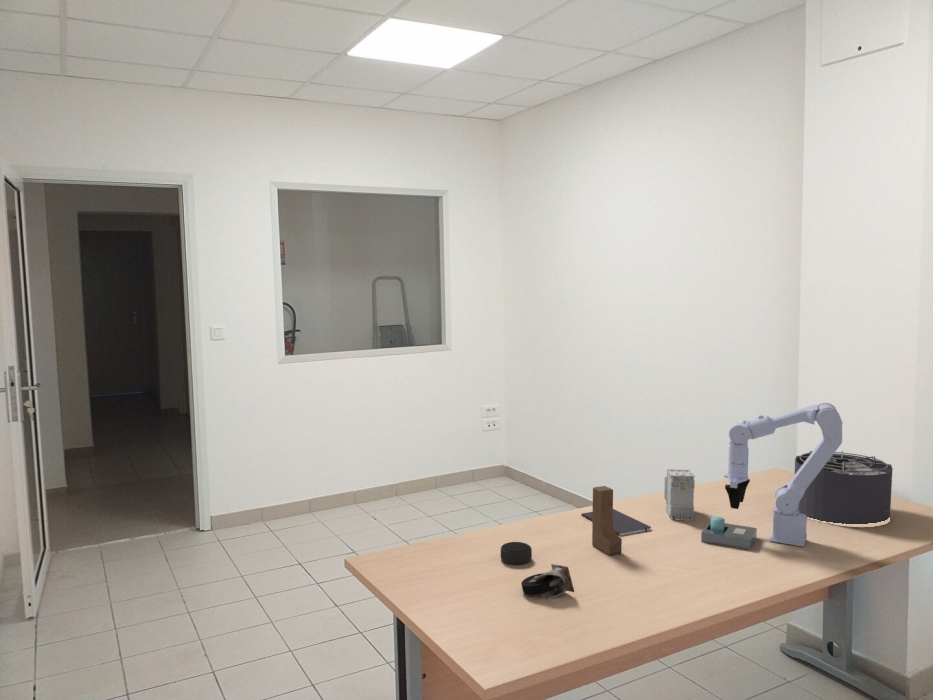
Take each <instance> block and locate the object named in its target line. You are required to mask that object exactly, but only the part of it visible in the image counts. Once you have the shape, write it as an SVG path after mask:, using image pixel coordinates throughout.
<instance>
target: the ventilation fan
mask: <svg viewBox="0 0 933 700" xmlns="http://www.w3.org/2000/svg"><path fill="white" fill-rule="evenodd" d="M812 452H813V450H810V451H809V452H805V453H803V454H801V455H796V456H795V458H794V475H795V474H796V473H797V471H798V470H799V469H800V467H801V466H802V465H803V464H804V462H805V461H806V460H807V458H808V457H809V456H810V454H811V453H812ZM892 483H893V465H892V464H891V463H886V462H885V461H884V460H881V459H878V458H876V456H874V455H873V456H867V455H862V454H857V453H850V452H843V450H842V451H841V452H839V451H835V453H834V454H833V455H832V457H831V458H830V459H829V460H828V462H827V463H826V464H825V466H824V467H823V468H822V469H821V471H820V472H819V473H818V475H817V476H816V477H815V479H814V480H813V481H812V482H811V484H810V485H809V486H808V488H807V489H806V490H805V493H804V495H803V497H802V499H801V500H800V502H799V507H798V510H799V513H802V514H806V515H807V517H809V518H813V519H817V520H820V521H826V522H833V523H842V524H844V523H845V524H868V523H877V522H881V521H885V520H887V519H888V518H889V517H890V518H891V504H892V503H891V501H892V488H893V487H892V485H893V484H892Z"/></svg>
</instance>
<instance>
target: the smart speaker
mask: <svg viewBox="0 0 933 700" xmlns="http://www.w3.org/2000/svg"><path fill="white" fill-rule="evenodd" d="M532 553H533V552H532V546H531V545H529V544H528V543H525V542H523V541H509V542H506V543H503V544H502V545H501V547H500V559H501V560H502V561H503V562H504V563H506V564H511V565H523V564H526V563H528V562H530V561H531V560H532V557H533V555H532Z"/></svg>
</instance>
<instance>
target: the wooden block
mask: <svg viewBox="0 0 933 700" xmlns="http://www.w3.org/2000/svg"><path fill="white" fill-rule="evenodd" d="M613 509H614V490H613V488H611V487H608V486H606V485H602V486H601V485H600V486H595V487H592V512H593V518H592V522H591V523H592V524H591V525H592V527H591V528H592V530H591V533H592V535H591V536H592V538H591V539H592V540H591V542H592V543H591V545H592V546H593V547H594V548H597V549H598V550H600V551H601V552H603V553H605V554H606V555H608V556H611V555H612V556H613V555H617V554H621V553H622V549H623V547H622V544H623V543H622V538H621V536H618V535H617V534H616V533H615V530H614V528H613Z"/></svg>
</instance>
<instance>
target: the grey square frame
mask: <svg viewBox="0 0 933 700" xmlns="http://www.w3.org/2000/svg"><path fill="white" fill-rule="evenodd" d="M757 529H758V528H757V527H753V526H745V525H739V524H733V523H732V524H731V523H727V522H724V532H719V531H713V530H711V520H709V522H708V523H707V524H706V525H705V527H704V528H703V530H702V531H701V535H700V536H701V537H700V538H701V541H700V542H701V543H705V542H706V543H707V544H713V545H718V546H724V547H731V548H735V547H737V549H741V548H744V549H743V550H747V549H750V548H751V549H752V547H753V545H754V543H755V541H756V539H757V536H758V535H757V532H758V530H757ZM706 543H705V544H706ZM751 549H750V550H751Z"/></svg>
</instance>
